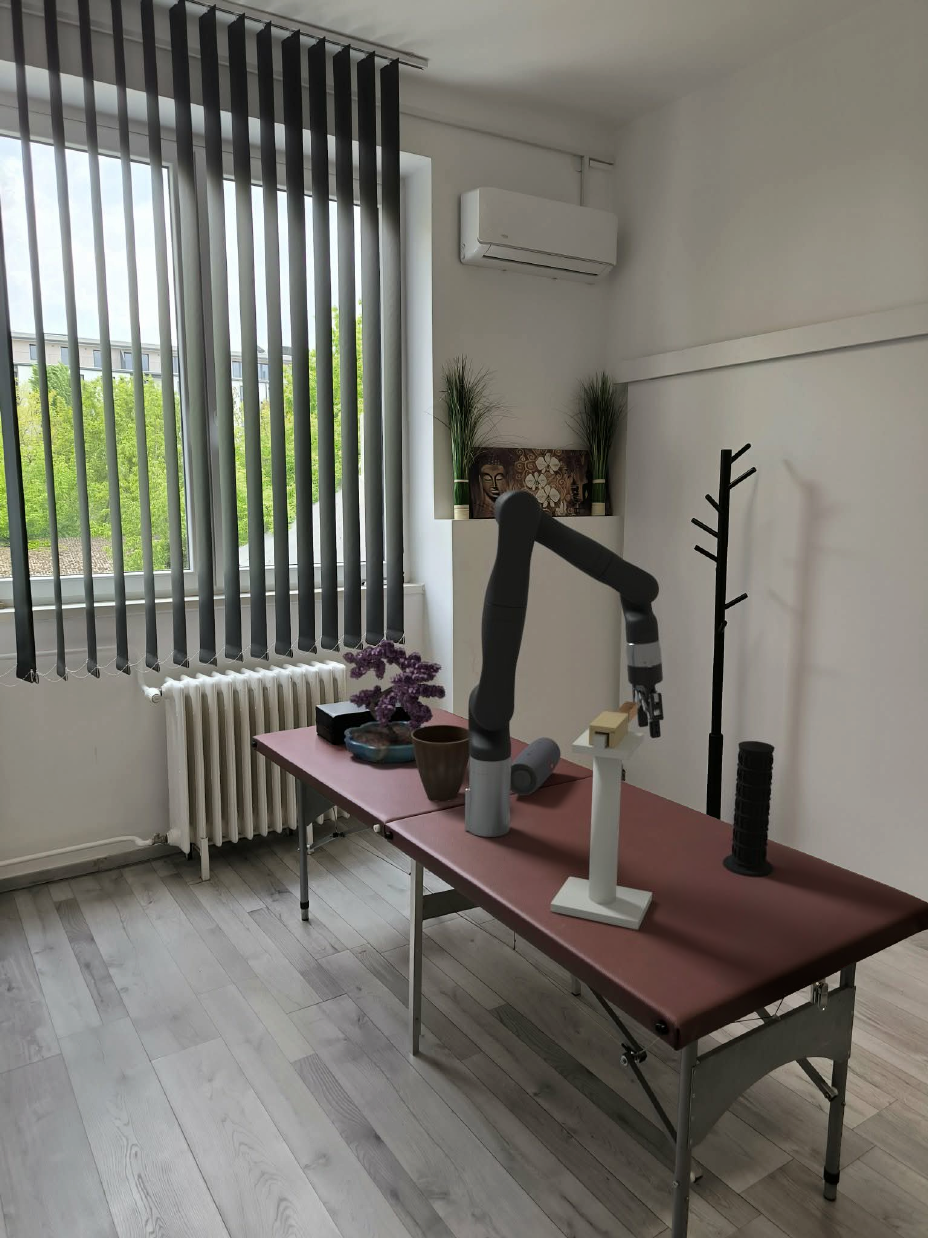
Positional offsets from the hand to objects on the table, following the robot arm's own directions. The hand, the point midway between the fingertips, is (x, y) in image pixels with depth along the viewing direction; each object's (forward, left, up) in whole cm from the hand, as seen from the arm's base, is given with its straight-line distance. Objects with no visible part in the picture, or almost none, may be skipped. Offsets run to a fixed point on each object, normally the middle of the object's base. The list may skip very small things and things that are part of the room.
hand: (649, 731), depth 199 cm
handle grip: (+24, -12, -22) cm, 35 cm away
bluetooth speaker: (-31, +14, -22) cm, 41 cm away
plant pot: (-49, -3, -22) cm, 54 cm away
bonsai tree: (-74, +20, -22) cm, 80 cm away
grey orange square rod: (+1, -35, +10) cm, 37 cm away
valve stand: (+1, -41, -22) cm, 46 cm away
